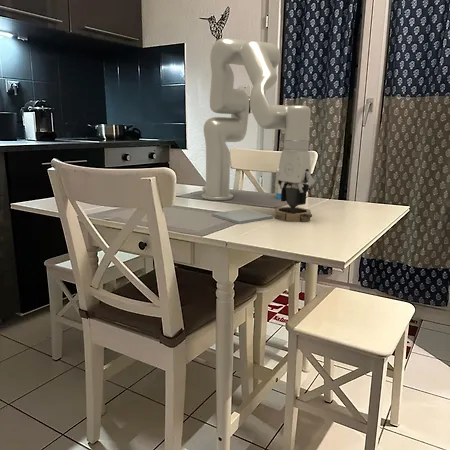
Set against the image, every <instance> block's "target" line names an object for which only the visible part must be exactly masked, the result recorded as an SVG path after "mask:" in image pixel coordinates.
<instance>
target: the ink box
mask: <svg viewBox="0 0 450 450" xmlns="http://www.w3.org/2000/svg"><path fill="white" fill-rule="evenodd" d="M275 171H276V172H275V174H276V175H277V174H278V172H279V168H276V169H275ZM276 175H275V176H276ZM281 191H282V189H280V185H279V183H278V180H277V179H276V178H275V188H274V196H276V197H275V199H276V200H278V199H279V200H280V199H281Z"/></svg>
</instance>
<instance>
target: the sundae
mask: <svg viewBox="0 0 450 450" xmlns="http://www.w3.org/2000/svg"><path fill="white" fill-rule="evenodd" d="M284 188H285V189H286V199H287V201H286V204H287V205H288V207H291V213H294V209H295V207H297V206H298V207H299V205H298V204H297V203H298V192H300V190H299V187H298V184H294V183H288V182H287V186H284Z"/></svg>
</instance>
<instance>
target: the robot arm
mask: <svg viewBox="0 0 450 450" xmlns="http://www.w3.org/2000/svg"><path fill="white" fill-rule="evenodd" d="M209 59H210V62H209V63H210V68H211V70H210V71H211V79H210V93H209V108H210V110H211V111H212V113H216V114H221V115H222V114H224V115H226V114H227V115H230V117H226V116H223V117H222V116H213V117H210V118H208V119H207V120H206V121H205V122H204V125H203V135H204V141H205V185H204V186H203V187H202V188H201V189H202V190H203V191H204V193H202V194H201V198H202V199H205V200H208V201H209V200H210V201H228V200H233V198H234V195H233V194H232V193H230V184H231V183H230V181H231V180H230V179H231V177H230V175H231V153H230V150H229V147H228V145H227V143H237V142H241V141H243V140H244V139H245V137H246V135H247V130H248V120H249V114H250V112H249V111H250V110H251V113H252V115H253V117H254V119H255V122H256V123H257V125H258V126H260V127H261V128H262V129H264V130H284V141H283V143H282V145H283V150H281V154H280V159H279V164H278V169H279V172H278V174H277V175H275V180H276V179H277V180H278V183H279V185H280V189H282V191H281V200H280V201H281V202H287V199H286V189H285V188H284V186H287V182H288V183H294V184H298V187H299V190H300V192H298V203H297V204H298V206H301V205H306V203H307V193H308V192H309V191H310V189H311V188H312V186H313V185H314V184H315V183H316V182H315V179H314V178H313V176H312V174H311V166H312V165H311V155H310V151H309V146H310V145H309V144H310V143H309V141H310V129H311V128H310V127H311V112H312V111H311V108H310V107H309V106H308V105H284V104H282V105H280V104H269V102H268V99H267V97H266V94H265V92H266V91H268V90H270V89H271V88H273V86H274V85H275V84H276V82H277V80H278V74H277V71H275V69H276V68H277V67H278V66H279V64H280V62H281V52H280V49H279V47H278V46H277V45H276V44H274V43H271V42H265V41H259V40H245V39H240V38H239V39H238V38H231V37H223V38H219V39H217V40H216V41H215V42H214V43H213V45H212V47H211V50H210V56H209ZM231 65H239V66H244V69H245V72H246V74H247V75H248V77H249V80H250V82H251V84H252V88H251V90H250V95H249V96H248V94H247V92H246V91H245V90H244V89H240V88H234V84H235V83H234V81H235V75H234V71H233V69H232V67H231Z"/></svg>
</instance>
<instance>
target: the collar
mask: <svg viewBox="0 0 450 450" xmlns="http://www.w3.org/2000/svg"><path fill="white" fill-rule="evenodd" d="M274 211H275V212H274V219H275V220H279V221H282V222H290V223H291V222H293V223H301V222H302V223H304V222H308V221H309V222H310V221H311V218H312V217H313V214H312V212H311V209H308V208H304V207H299V206H298V207H297V206H296V207H295V209H294V213H291V207H290V206H283V207H282V206H274Z"/></svg>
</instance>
